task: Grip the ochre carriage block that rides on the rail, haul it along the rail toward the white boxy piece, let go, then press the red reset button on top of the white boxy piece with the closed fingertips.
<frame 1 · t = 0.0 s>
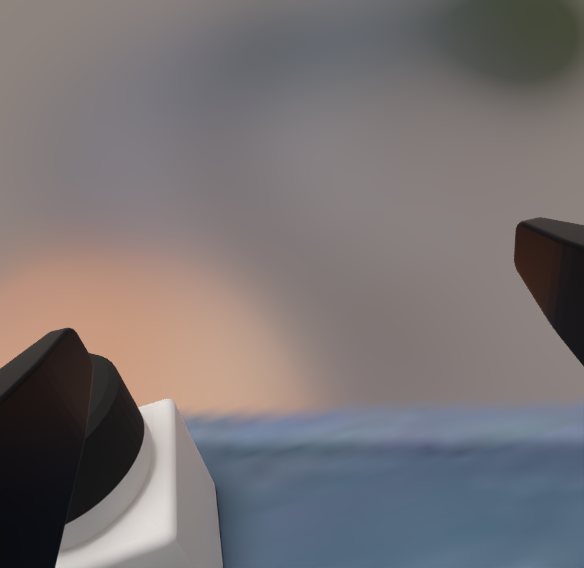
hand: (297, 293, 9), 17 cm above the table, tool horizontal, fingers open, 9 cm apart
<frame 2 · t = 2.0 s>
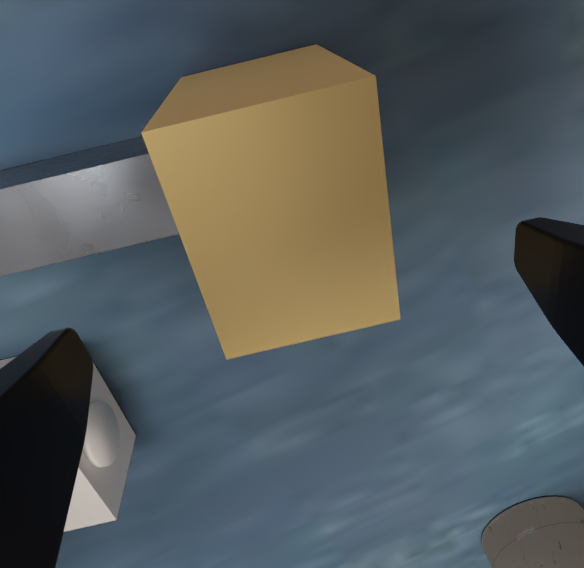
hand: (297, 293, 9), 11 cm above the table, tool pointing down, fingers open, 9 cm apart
carriage: (276, 182, 15), point 4 cm above the table, slide at 0.0 cm
white boxy piece: (46, 406, 24), on the table
rail: (147, 175, 19), on the table
thermos bottle: (530, 525, 36), on the table
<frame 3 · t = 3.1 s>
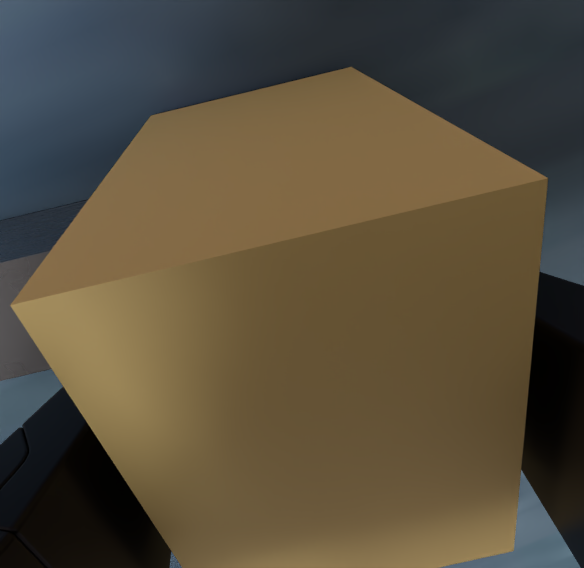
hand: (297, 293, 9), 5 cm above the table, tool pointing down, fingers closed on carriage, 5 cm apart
carriage: (295, 289, 9), point 4 cm above the table, slide at 0.0 cm, touching gripper
rail: (108, 248, 13), on the table
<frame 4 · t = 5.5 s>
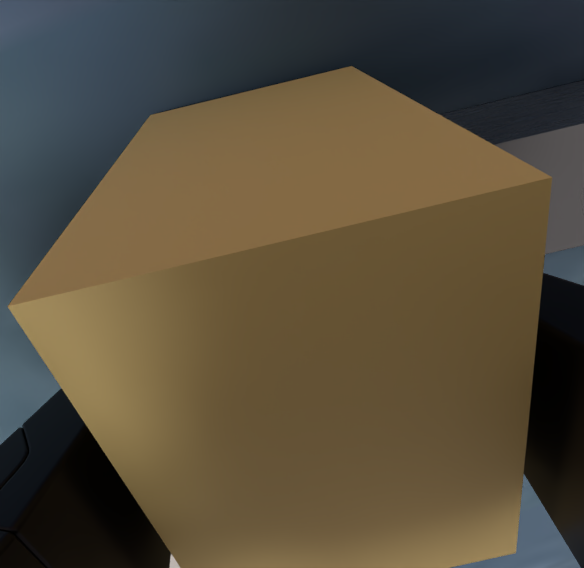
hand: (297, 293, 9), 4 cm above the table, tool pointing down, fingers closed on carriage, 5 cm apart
carriage: (296, 289, 9), point 4 cm above the table, slide at 9.1 cm, touching gripper
rail: (422, 173, 13), on the table
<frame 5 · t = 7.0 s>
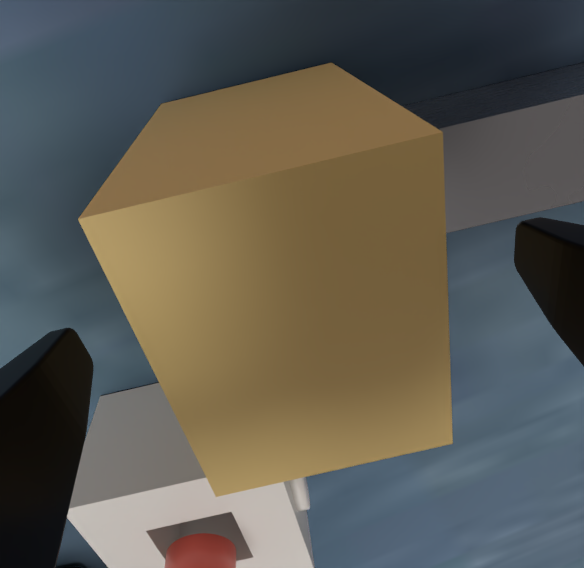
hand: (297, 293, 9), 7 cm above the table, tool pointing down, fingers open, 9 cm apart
carriage: (282, 245, 11), point 4 cm above the table, slide at 9.2 cm
white boxy piece: (208, 433, 21), on the table
rail: (396, 155, 15), on the table
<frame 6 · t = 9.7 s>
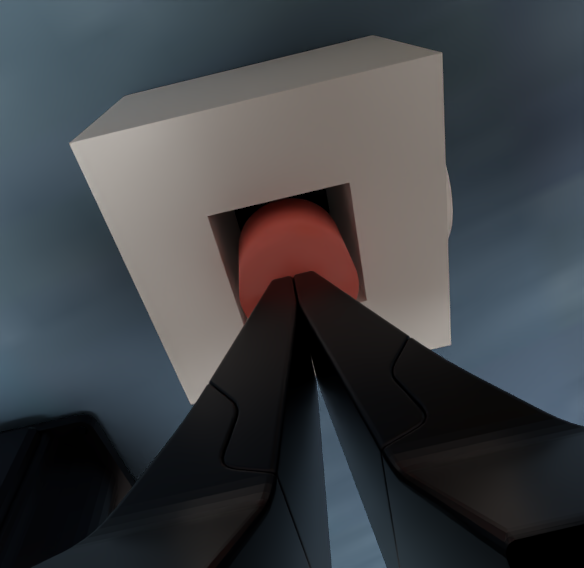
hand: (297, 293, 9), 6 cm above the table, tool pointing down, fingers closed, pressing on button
button: (294, 267, 10), point 5 cm above the table, slide at 1.0 cm, touching gripper
white boxy piece: (276, 185, 15), on the table
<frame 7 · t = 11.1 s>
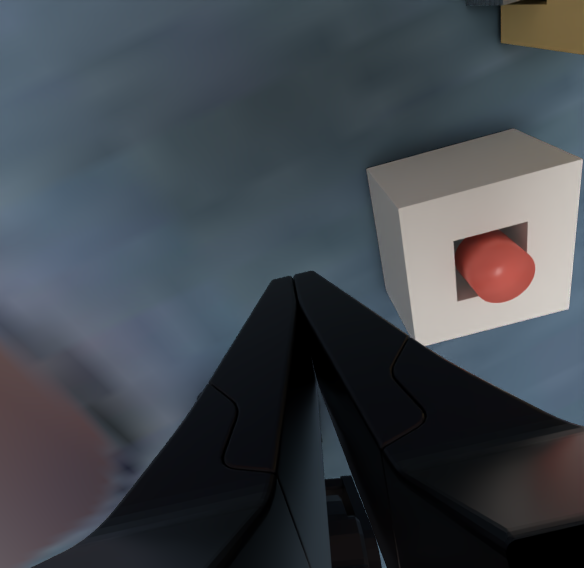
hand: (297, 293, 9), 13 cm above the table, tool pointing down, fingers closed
button: (492, 265, 19), point 5 cm above the table, slide at 1.1 cm
white boxy piece: (444, 216, 23), on the table
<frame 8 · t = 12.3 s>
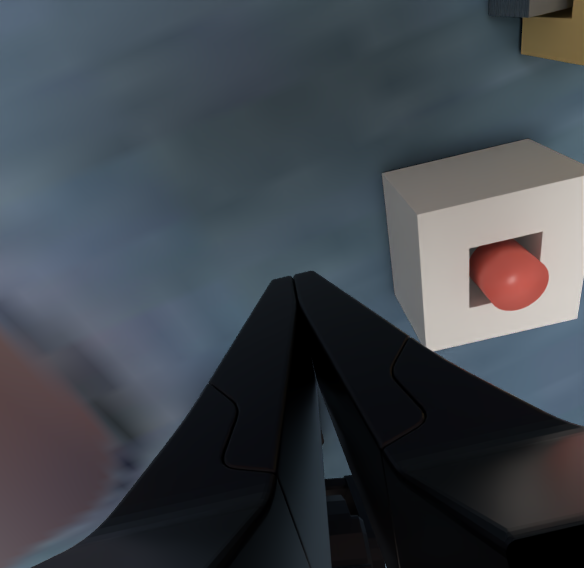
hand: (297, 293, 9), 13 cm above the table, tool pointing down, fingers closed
button: (506, 273, 19), point 5 cm above the table, slide at 1.1 cm
white boxy piece: (456, 222, 24), on the table
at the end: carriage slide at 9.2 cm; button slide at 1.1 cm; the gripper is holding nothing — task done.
